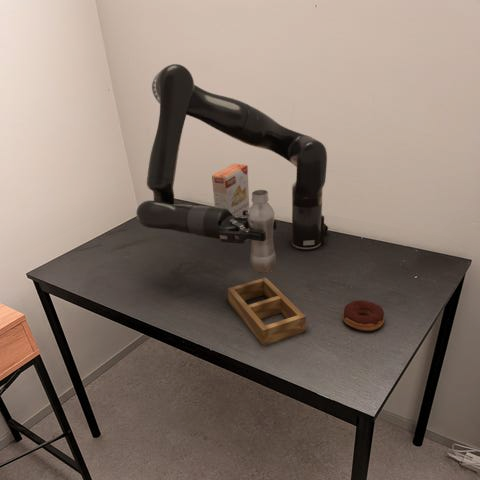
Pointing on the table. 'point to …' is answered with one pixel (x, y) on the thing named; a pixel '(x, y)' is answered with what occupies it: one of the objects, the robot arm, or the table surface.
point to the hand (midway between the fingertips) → (270, 230)
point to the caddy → (266, 311)
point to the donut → (357, 320)
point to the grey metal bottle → (262, 220)
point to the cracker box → (232, 189)
